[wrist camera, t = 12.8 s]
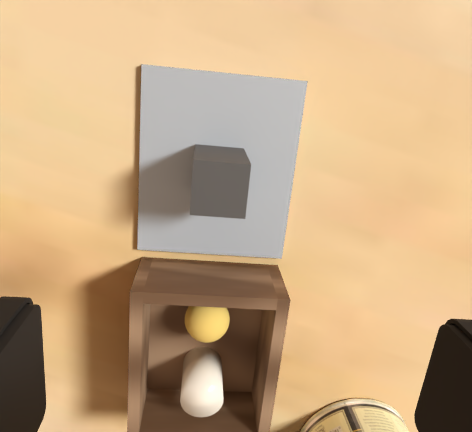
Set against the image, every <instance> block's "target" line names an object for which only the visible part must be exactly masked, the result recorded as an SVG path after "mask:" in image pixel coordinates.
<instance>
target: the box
mask: <svg viewBox="0 0 472 432" xmlns="http://www.w3.org/2000/svg"><path fill="white" fill-rule="evenodd" d="M289 305H290V298H289V295H288V292H287V290H286V287H285V284H284V281H283V279H282V276H281V273H280V270H279V268H278V265H263V264H247V263H230V262H213V261H197V260H180V259H163V258H147V257H142V258H141V261H140V264H139V267H138V270H137V272H136V275H135V278H134V281H133V284H132V287H131V290H130V313H129V369H128V425H127V432H270V426H271V419H272V413H273V407H274V400H275V394H276V388H277V381H278V375H279V368H280V362H281V356H282V349H283V343H284V337H285V330H286V324H287V318H288V311H289ZM189 306H200V307H220V308H227V309H228V312H229V316H230V322H229V326H228V329H227V331H226V333H225V334H224V335H223V336H222V337H221V338H220V339H218V340H216V341H214V342H209V343H205V342H200V341H197V340H196V339H194V338H193V337H192V336H191V335H190V334H189V333H188V331H187V329H186V326H185V314H186V311H187V309H188V307H189ZM197 347H209V348H212V349H214V350H215V351H216V352H218V354H219V355H220V357H221V361H222V380H223V405H222V407H221V408H220V410H219V411H218V412H216V413H215V414H213V415H211V416H208V417H194V416H191V415H189V414H188V413H186V412H185V411H184V410H183V408H182V406H181V403H180V397H181V385H182V372H183V361H184V357H185V355H186V354H187V353H188V352H189V351H190V350H192V349H194V348H197Z"/></svg>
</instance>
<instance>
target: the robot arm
mask: <svg viewBox="0 0 472 432" xmlns="http://www.w3.org/2000/svg"><path fill="white" fill-rule="evenodd" d="M45 409H46V392H45V374H44V356H43V339H42V321H41V308H40V306H39V305H33V302H32V300H31V299H30V298H24V297H1V298H0V432H37V431H38V429H39V427H40V425H41V422H42V420H43V417H44V414H45ZM415 424H416V427H417V429H418V431H419V432H472V320H465V319H450V320H448V321H447V322H446V323H445V325H442V326H441V327H440V328H439V330H438V334H437V337H436V341H435V344H434V348H433V351H432V355H431V358H430V362H429V365H428V369H427V372H426V375H425V379H424V382H423V386H422V389H421V393H420V396H419V400H418V403H417V407H416V410H415Z"/></svg>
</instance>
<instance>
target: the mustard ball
mask: <svg viewBox="0 0 472 432" xmlns="http://www.w3.org/2000/svg"><path fill="white" fill-rule="evenodd" d="M229 322H230V316H229V312H228V309H227V308H220V307H200V306H189V307H188V309H187V311H186V314H185V326H186V329H187V331H188V333H189V334H190V335H191V336H192V337H193V338H194V339H196V340H197V341H200V342H205V343H209V342H214V341H216V340H218V339H220V338H221V337H222V336H223V335H224V334H225V333H226V331H227V329H228V326H229Z"/></svg>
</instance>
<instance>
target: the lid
mask: <svg viewBox="0 0 472 432" xmlns="http://www.w3.org/2000/svg"><path fill="white" fill-rule="evenodd" d="M306 87H307V81H300V80H290V79H281V78H271V77H261V76H251V75H241V74H232V73H222V72H212V71H202V70H192V69H182V68H173V67H163V66H153V65H143V64H142V65H141V110H140V155H139V200H138V244H137V250H152V251H168V252H184V253H201V254H217V255H233V256H249V257H265V258H282V253H283V246H284V239H285V232H286V226H287V219H288V212H289V205H290V198H291V191H292V184H293V177H294V170H295V163H296V156H297V150H298V143H299V136H300V129H301V122H302V115H303V108H304V101H305V94H306Z"/></svg>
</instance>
